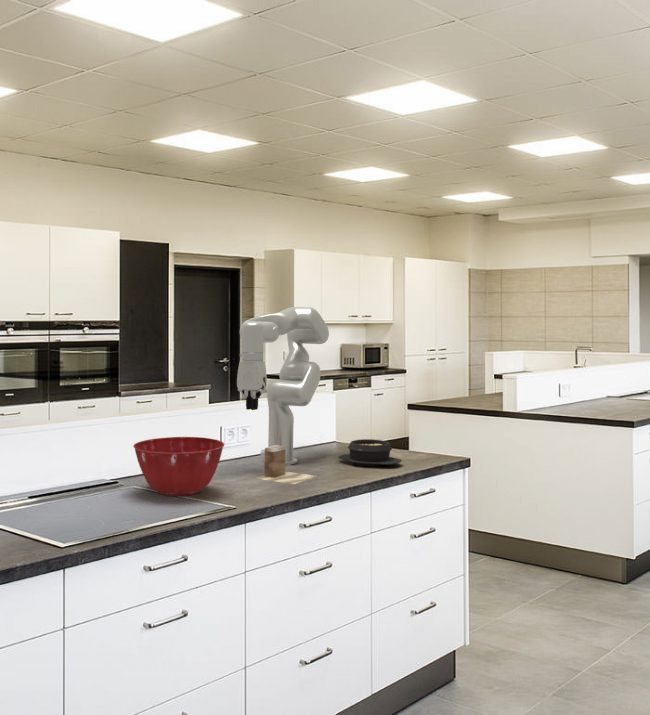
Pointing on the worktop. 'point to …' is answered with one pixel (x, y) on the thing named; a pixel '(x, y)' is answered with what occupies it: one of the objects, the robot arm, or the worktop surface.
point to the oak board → (289, 478)
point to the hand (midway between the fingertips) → (251, 409)
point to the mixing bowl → (178, 463)
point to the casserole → (370, 453)
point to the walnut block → (274, 461)
